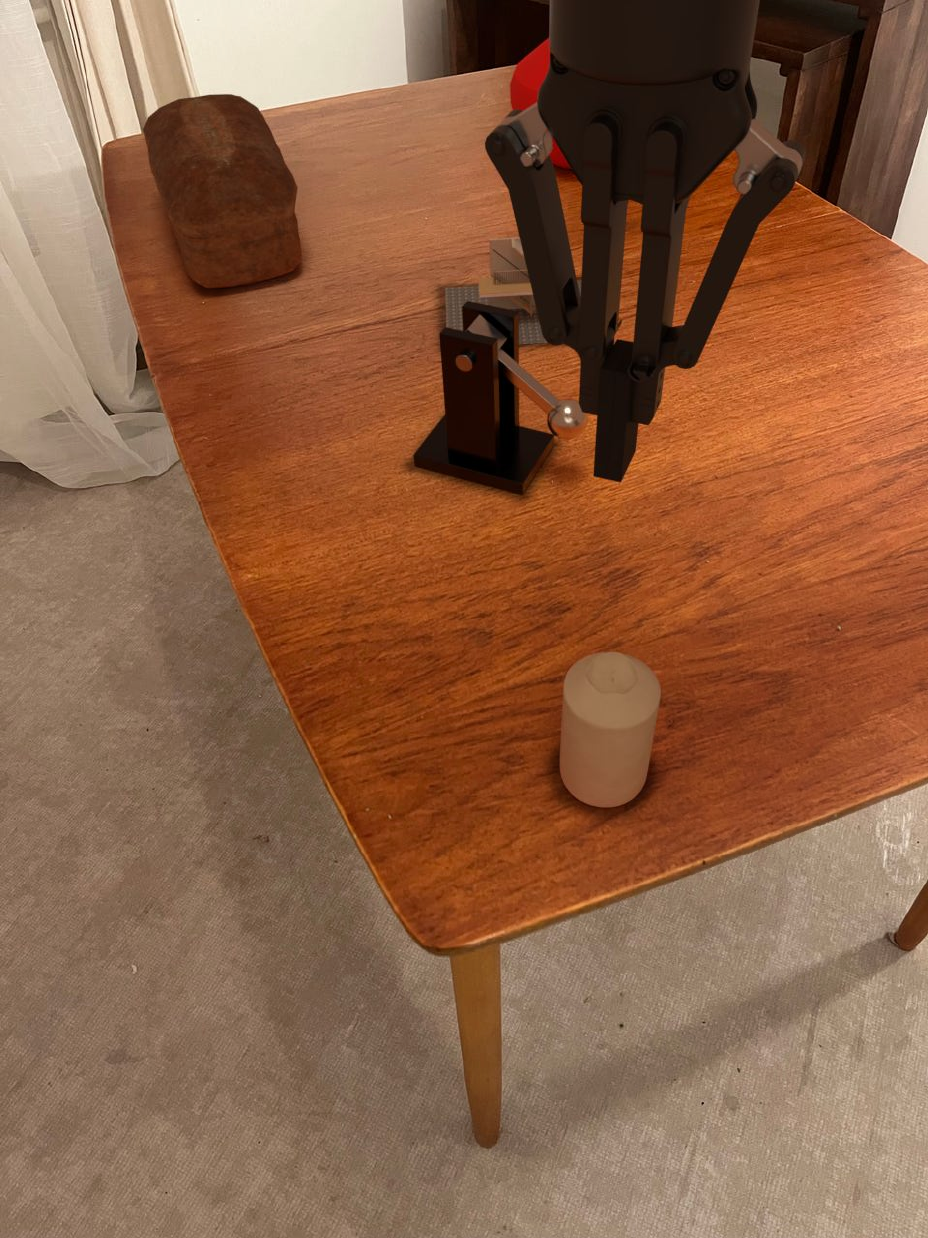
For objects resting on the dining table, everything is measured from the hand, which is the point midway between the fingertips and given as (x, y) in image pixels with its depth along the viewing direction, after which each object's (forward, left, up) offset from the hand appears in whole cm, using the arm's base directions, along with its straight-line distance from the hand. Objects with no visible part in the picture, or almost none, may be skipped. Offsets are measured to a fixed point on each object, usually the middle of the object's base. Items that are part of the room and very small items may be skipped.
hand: (614, 463), depth 51 cm
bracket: (+17, -20, -20) cm, 33 cm away
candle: (-3, +6, -20) cm, 21 cm away
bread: (+61, -46, -20) cm, 79 cm away
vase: (+30, -79, -20) cm, 87 cm away
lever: (+15, -20, -13) cm, 28 cm away
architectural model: (+23, -42, -20) cm, 52 cm away
